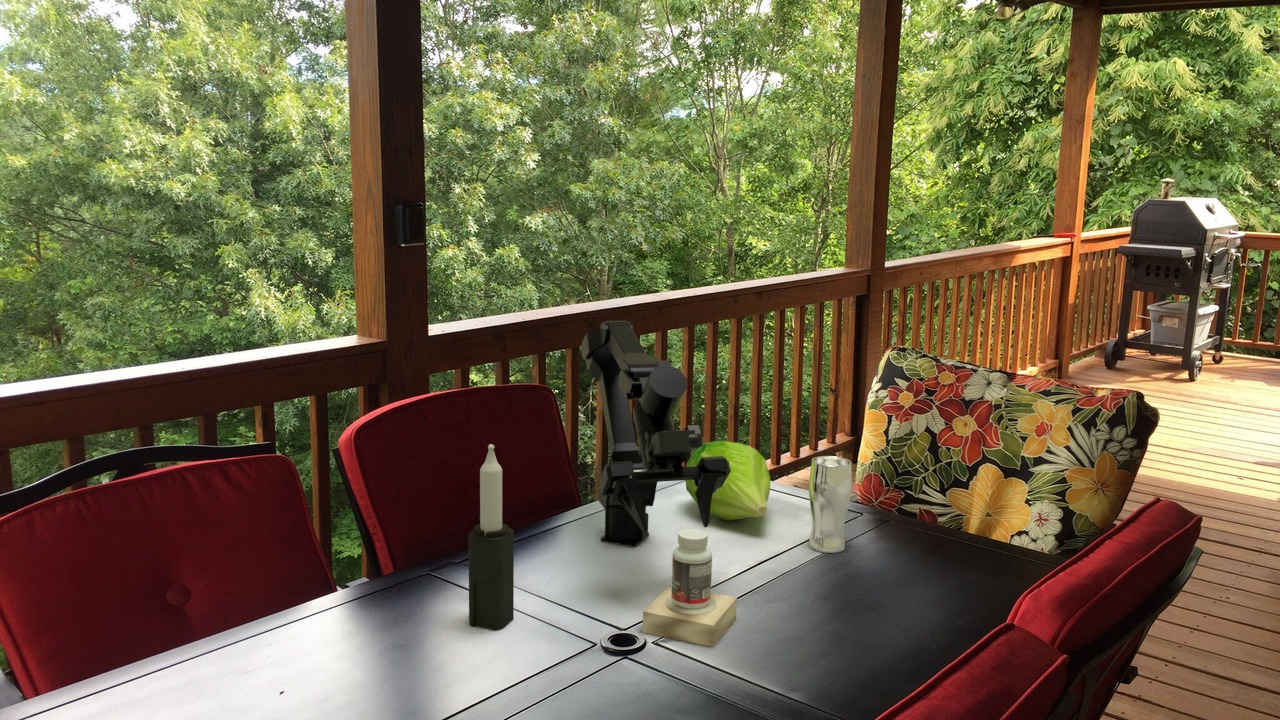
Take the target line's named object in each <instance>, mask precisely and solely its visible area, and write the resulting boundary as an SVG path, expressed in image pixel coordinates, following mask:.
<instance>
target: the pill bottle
mask: <svg viewBox="0 0 1280 720" xmlns="http://www.w3.org/2000/svg"><path fill="white" fill-rule="evenodd" d="M708 543H709V542H708V533H707V532H705V531H704V530H701V529H696V528H688V529H682V530H680V531H679V532H678V534H677V544H678V545H677V546H676V547H675V548H674V549H673V551H672V561H671V562H672V565H671V566H672V567H671V568H672V570H671V585H672V594H671V595H672V596H671V598H672V601H673V603H674V604H676V605H678V606H680V607H683V608H689V609H697V608H702V607H705V606H707V605H708V604H709V603H710V596H711V593H712V591H711V590H712V573H713V571H712V570H713V569H712V568H713V554H712V550H711V549H710V548H709V547H707V546H708Z"/></svg>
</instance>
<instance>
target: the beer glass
mask: <svg viewBox="0 0 1280 720" xmlns="http://www.w3.org/2000/svg"><path fill="white" fill-rule="evenodd" d="M852 464H853V463H852V461H851V460H850V459H848V458H844V457H841V456H833V455H821V456H820V455H819V456H816V457H813V458H811V466H810V471H809V472H810V473H809V481H808V495H809V496H808V497H809V505H810V507H809V508H810V514H811V531H810V536H809V539H808V547H809V548H810V549H811V550H813V551H816V552H819V553H825V554H837V553H838V554H839V553H841V552H843V551H845V549H846V543H845V535H844V534H845V533H844V528H845V520H846V518H847V517H846V516H847V513H848V509H849V504H850V500H851V494H852V480H853V479H852V478H853V477H852Z"/></svg>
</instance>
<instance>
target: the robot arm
mask: <svg viewBox="0 0 1280 720" xmlns="http://www.w3.org/2000/svg"><path fill="white" fill-rule="evenodd" d="M581 341H582V342H581V357H582V360H585V364H586V369H587V371H588V372H587V373H588V374H590V375H591V376H592V377H593V378H594V379H595V380H596V382H598V384H599V385H598V386H599V391H600V398H601V403H602V410H603V416H604V422H605V428H606V434H607V440H608V445H609V446H608V447H609V451H610V457H609V459H608V462H607V463H606V464H605V465H604V467H603V470H602V473H601V475H600V478H599V487H598V490H597V493H598V494H597V495H598V502H599V504H600V505H601V506H602V507H603V509H604V515H605V516H604V535H602V536H601V537H600V542H604V543H609V544H610V543H611V544H616V545H622V546H627V547H637V546H638V545H639V544H640V543H642V542H643V541H644V540H646V539H647V538H648V537H650V533H649V513H648V512H647V507H653V506H654V502H655V499H656V493H657V492H656V491H657V485H658V482H659V483H661V482H677V481H685V480H694V482H695V486H697V487H698V488H697V490H696V492H695V494H696V498H697V503H698V504H697V503H696V504H697V507H698V512H699V517H700V520H701V523H702V525H703V527H704V528H708V527H709V525H710V516H711V513H710V508H711V500H712V495H713V493H715V491H716V490H717V489H718V488H720V487H722V485H723V484H724V482H725V480H726V479H727V477H728V475H729V474H730V472H731V469H730V465H729V461H728V460H727V459H726V458H725V457H723V456H715V457H702V458H701V459H700V461H699V463H698V465H697V466H693V467H686V466H683V463H687V461H688V453H689V454H690V453H692V449H698V448H699V447H700V446H702V444H703V435H702V431H701V427H700V425H699V424H694V425H693V424H691V425H687V426H686V427H684V429H681V430H680V429H675V426H674V421H673V415H674V414H675V413H677V411H678V408H679V407H680V404H681V402H682V400H683V398H684V396H685V393H686V392H687V388H688V380H687V377H686V376H685V375H684V373H683V372H682V371H680V369H678V368H676V367H674V366H672V365H671V362H670V360H662V359H660V358H659V357H657V356H653V355H650V354H648V353H647V352H646V350H645V348H644V347H643V345H642V344H641V342H640V340H639V339H638V337H637V335H636V334H635V332H634V326H633V323H632V322H631V321H628V320H606V321H604V322H601V324H600V325H599V327H596V328H594V329H592V330H590V331H587V332H586V334H585V335H584V338H583V339H582V340H581ZM629 400H638V401H637V402H636V403H635V405H634V407H633V408H632V413H631V407H630V402H629ZM632 414H633V415H632ZM632 416H633V417H632ZM633 423H634V424H635V428H634V424H633ZM635 430H636V435H637V436H636V435H635ZM636 437H637V440H636ZM637 441H638V444H637Z"/></svg>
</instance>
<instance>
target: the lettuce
mask: <svg viewBox="0 0 1280 720" xmlns="http://www.w3.org/2000/svg"><path fill="white" fill-rule="evenodd" d="M715 456H723V457H725V458H726V459H727V460H728V461H729V465H730V469H731V472H730V474H729V475H728V477H727V479H726V480H725V482H724V484H723V485H722V487H720V488H718V489H717V490H716V491H715V493H713V495H712V500H711V508H710V515H713V516H715V517H717V518H719V519H720V520H723V521H732V520H733V521H734V520H740V519H745V518H750V517H751V518H752V517H753V518H760V517H763V516H764V515H765V514H766V513H767V509H768V505H767V503H768V500H769V496H770V494H771V493H770V490H771V476H770V472H769V469H768V465H767V462H766V458H765V457H764V456H763V455H762V454H761V453H760V451H759V450H757V449H756V448H754V447H752V446H750V445H747V444H744V443H740V442H732V441H727V440H713V441H709V442H705V443H702V446H700V447H698V448H696V450H695V451H694V452H693V453H692V455H691V456H690V458H689V459H688V460H687V461H686V465H685V467H693V466H697V465H698V463H699V461H700V459H701V458H702V457H715ZM684 482H685V488H686V491H687V492H688V494H689V495H690V496H691V497H692V500H694V502H695V503H696V504H697V505H698V503H697V498H696V494H695V492H696V490H697V488H698V487H697V486H695V482H694V480H684Z"/></svg>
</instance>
